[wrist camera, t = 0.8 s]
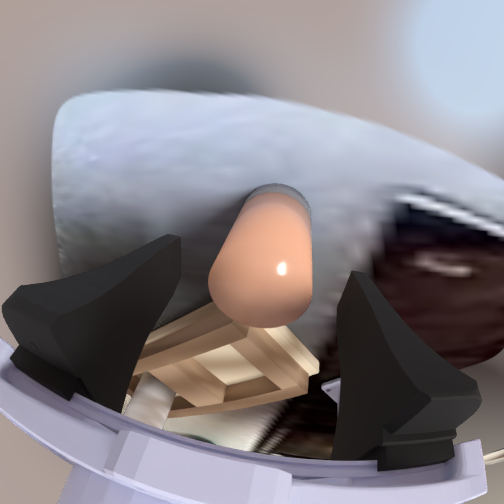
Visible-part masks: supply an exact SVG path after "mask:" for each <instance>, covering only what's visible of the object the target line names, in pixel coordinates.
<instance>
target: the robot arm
mask: <svg viewBox="0 0 504 504" xmlns="http://www.w3.org/2000/svg"><path fill="white" fill-rule="evenodd" d="M180 277H181V246H180V237H179V236H174V235H169V234H167V235H164V236H162V237H160V238H158V239H156V240H154V241H152V242H150V243H148V244H147V245H145V246H143V247H141V248H139V249H137V250H135V251H133V252H131V253H129V254H127V255H125V256H123V257H121V258H119V259H117V260H115V261H113V262H111V263H108V264H106V265H104V266H101V267H98V268H96V269H93V270H91V271H88V272H84V273H81V274H78V275H75V276H71V277H68V278H64V279H60V280H55V281H50V282H45V283H38V284H30V285H21V286H19V287H18V288H17V290H16V291H15V292H14V293H13V294H12V295H11V296H10V297H9V298H8V299H7V300H6V301H5V302H4V303H3V305H2V313H3V317H4V319H5V321H6V323H7V325H8V327H9V329H10V330H11V332H12V334H13V335H14V337H15V339H16V340H17V342H18V344H19V346H18V347H17V349H16V350H15V349H14V348H13V347H12V346H11V345H10V344H9V343H8V342H6V341H5V340H4V339H2V338H1V337H0V412H1V413H2V414H3V415H4V416H5V417H7V418H8V419H9V420H10V421H11V422H12V423H14V424H15V425H16V426H17V427H19V428H20V429H21V430H22V431H24V432H25V433H26V434H28V435H29V436H30V437H31V438H33V439H34V440H35V441H37V442H38V443H40V444H41V445H43V446H44V447H45V448H47V449H48V450H50V451H51V452H53V453H54V454H56V455H57V456H59V457H60V458H62V459H63V460H65V461H67V462H68V463H70V464H72V465H73V467H72V470H71V472H70V474H69V476H68V479H67V481H66V483H65V486H64V488H63V490H62V493H61V495H60V498H59V500H58V502H57V504H462V503H464V502H467V501H469V500H472V499H474V498H476V497H478V496H480V495H483V494H485V493H486V492H487V481H486V473H485V466H484V459H483V453H482V447H481V443H480V439H475V440H471V441H467V442H462V443H459V444H456V445H454V446H453V441H452V439H454V438H455V437H456V435H457V434H456V428H457V427H458V426H459V425H460V424H462V423H463V422H464V421H465V420H467V419H468V418H469V417H470V416H472V415H473V414H474V413H475V412H476V411H477V409H478V408H479V406H480V404H481V402H482V399H481V395H480V392H479V388H478V385H477V382H476V380H474V379H472V378H471V377H469V376H468V375H466V374H464V373H463V372H461V371H460V370H458V369H457V368H455V367H454V366H452V365H451V364H450V363H448V362H447V361H445V360H444V359H443V358H442V357H440V356H439V355H438V354H437V353H435V352H434V351H433V350H432V349H431V348H430V347H429V346H427V345H426V344H425V343H424V342H423V341H422V340H421V339H420V338H419V337H418V336H417V335H416V334H415V333H414V332H413V331H412V330H411V329H410V328H409V327H408V326H407V324H406V323H405V322H404V321H403V320H402V319H401V317H400V316H399V315H398V314H397V313H396V312H395V310H394V309H393V308H392V307H391V305H390V304H389V303H388V301H387V300H386V299H385V298H384V296H383V295H382V294H381V292H380V291H379V290H378V288H377V287H376V286H375V284H374V283H373V282H372V280H371V279H370V278H369V277H368V276H367V274H366V273H362V272H357V271H351V274H350V276H349V279H348V282H347V284H346V287H345V289H344V292H343V294H342V297H341V299H340V301H339V304H338V306H337V327H336V328H337V339H338V350H339V361H340V378H337V379H334V380H331V381H328V382H325V383H323V384H322V385H321V388H322V390H323V391H324V392H326V393H327V394H328V395H329V396H330V397H331V398H332V399H333V400H334V401H335V402H336V403H337V404H338V419H337V426H336V433H335V439H334V444H333V449H332V454H331V459H330V460H312V459H299V458H289V457H281V456H273V455H266V454H259V453H253V452H248V451H242V450H237V449H232V448H227V447H223V446H219V445H214V444H210V443H206V442H202V441H198V440H195V439H191V438H188V437H184V436H181V435H178V434H174V433H171V432H168V431H165V430H162V429H159V428H156V427H153V426H151V425H148V424H145V423H142V422H140V421H137V420H135V419H132V418H129V417H127V416H125V415H122V414H121V412H122V408H123V404H124V401H125V397H126V394H127V390H128V387H129V384H130V381H131V378H132V375H133V373H134V370H135V367H136V365H137V362H138V359H139V357H140V354H141V352H142V350H143V347H144V345H145V343H146V340H147V338H148V336H149V334H150V333H151V331H152V329H153V327H154V326H155V324H156V322H157V321H158V319H159V317H160V316H161V314H162V312H163V311H164V309H165V307H166V306H167V304H168V302H169V301H170V299H171V297H172V295H173V294H174V291H175V289H176V287H177V284H178V282H179V280H180Z"/></svg>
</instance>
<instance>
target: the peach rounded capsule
mask: <svg viewBox="0 0 504 504" xmlns="http://www.w3.org/2000/svg"><path fill="white" fill-rule="evenodd" d="M208 287H209V292H210V295H211V297H212V299H213V301H214V303H215V304H216V305H217V307H218V308H219V309H220V310H221V311H222V312H223V313H224V314H225V315H227V316H228V317H230V318H231V319H233V320H235V321H237V322H239V323H241V324H244V325H247V326H250V327H255V328H276V327H281V326H284V325H287V324H289V323H291V322H293V321H295V320H297V319H298V318H299V317H300V316H302V315H303V313H304V312H305V311H306V310H307V308H308V306H309V304H310V302H311V298H312V241H311V212H310V207H309V205H308V202H307V201H306V199H305V198H304V197H303V195H302V194H301V193H300V192H298V191H297V190H296V189H294V188H292V187H290V186H287V185H284V184H267V185H263V186H261V187H259V188H257V189H255V190H254V191H253V192H252V193H251V194H250V195H249V196H248V198H247V199H246V201H245V203H244V205H243V207H242V209H241V210H240V213H239V215H238V217H237V219H236V221H235V223H234V225H233V227H232V229H231V231H230V232H229V234H228V236H227V238H226V240H225V242H224V244H223V246H222V248H221V250H220V252H219V254H218V256H217V258H216V260H215V262H214V264H213V266H212V268H211V270H210V273H209V277H208Z"/></svg>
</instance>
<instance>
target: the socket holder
mask: <svg viewBox="0 0 504 504" xmlns="http://www.w3.org/2000/svg"><path fill="white" fill-rule="evenodd" d="M317 373H319V361H318V360H317V359H316V358H315V357H314V356H313V355H312V354H311V353H310V352H309V351H308V349H307V348H306V347H305V346H304V345H303V344H302V343H301V342H300V341H299V340H298V339H297V337H296V336H295V335H294V334H293V333H292V332H291V331H290V330H289V329H288V328H287V326H286V325H284V326H281V327H276V328H255V327H250V326H247V325H244V324H241V323H239V322H237V321H235V320H233V319H231V318H230V317H228V316H227V315H225V314H224V313H223V312H222V311H221V310H220V309H219V308H218V307H217V305H216V304H215V303H214V301H213V302H211V303H209V304H207V305H205V306H203V307H201V308H199V309H197V310H195V311H193V312H191V313H189V314H187V315H185V316H183V317H181V318H179V319H177V320H175V321H173V322H171V323H169V324H167V325H165V326H163V327H161V328H159V329H157V330H155V331H153V332H151V333H150V334H149V336H148V338H147V340H146V343H145V345H144V347H143V350H142V352H141V354H140V357H139V359H138V362H137V365H136V367H135V370H134V373H133V375H132V378H131V381H130V384H129V387H128V390H127V394H129V395H130V396H131V397H132V398H131V400H130V402H129V404H128V406H127V408H126V410H125V412H124V414H123V415H125V416H127V417H129V418H132V419H135V420H137V421H140V422H142V423H145V424H148V425H151V426H153V427H156V428H159V429H163V426H164V424H165V421H166V419H167V418H174V417H185V416H194V415H202V414H210V413H217V412H223V411H230V410H236V409H241V408H247V407H252V406H257V405H262V404H266V403H271V402H275V401H280V400H284V399H288V398H292V397H296V396H300V395H303V394H307V393H308V379H309V376H310V375H314V374H317Z"/></svg>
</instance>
